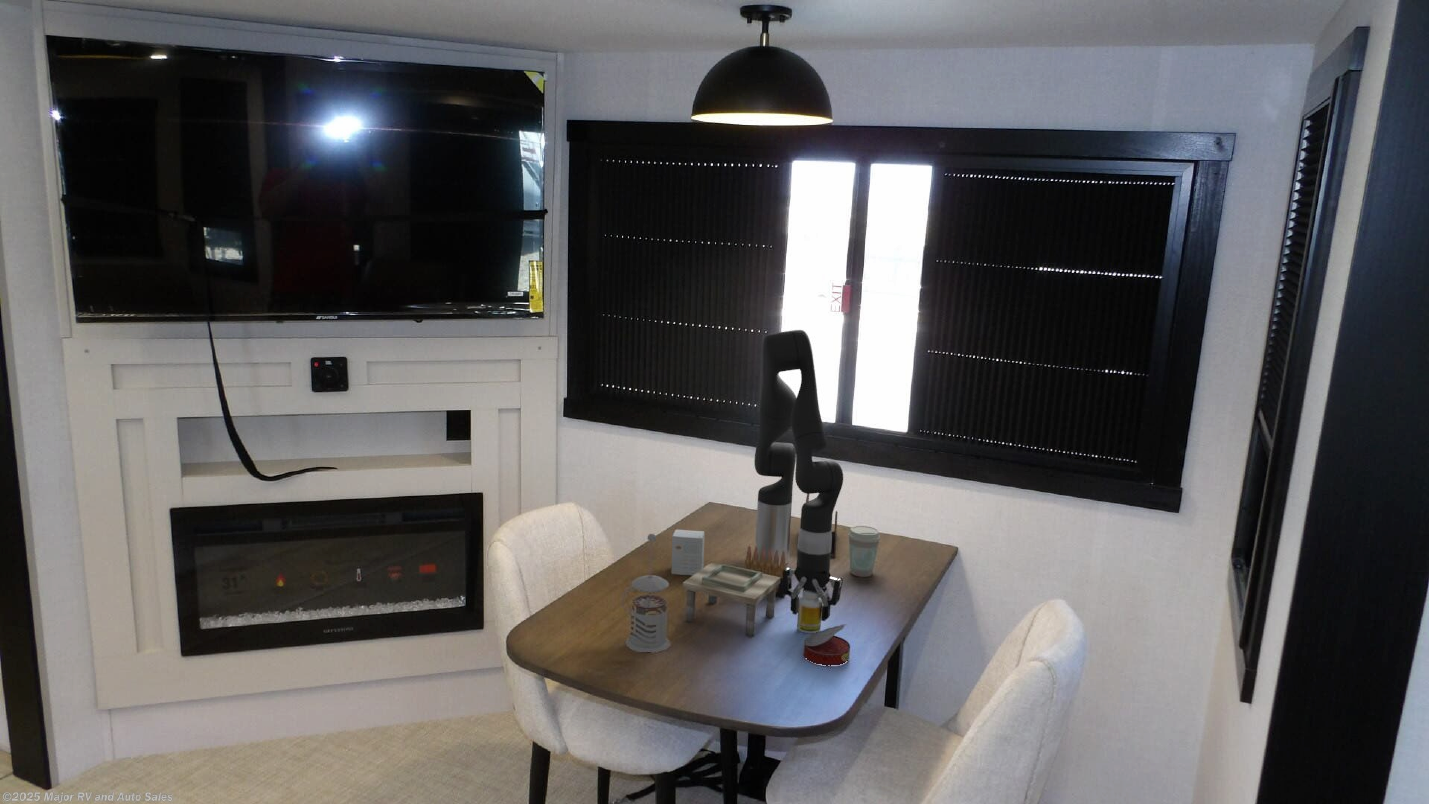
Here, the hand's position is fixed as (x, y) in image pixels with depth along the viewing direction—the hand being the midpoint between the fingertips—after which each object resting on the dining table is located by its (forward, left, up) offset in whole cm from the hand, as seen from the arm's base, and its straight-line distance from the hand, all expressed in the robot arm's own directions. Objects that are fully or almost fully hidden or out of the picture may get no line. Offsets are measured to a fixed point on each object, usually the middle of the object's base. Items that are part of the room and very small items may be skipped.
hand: (809, 616), depth 221 cm
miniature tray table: (+4, -18, -3) cm, 19 cm away
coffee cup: (-41, 0, -3) cm, 41 cm away
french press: (+25, -29, -3) cm, 38 cm away
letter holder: (-56, -17, -4) cm, 59 cm away
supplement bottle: (0, 0, -3) cm, 3 cm away
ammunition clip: (-14, -17, -3) cm, 22 cm away
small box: (-17, -40, -3) cm, 44 cm away
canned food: (+11, +8, -4) cm, 14 cm away
